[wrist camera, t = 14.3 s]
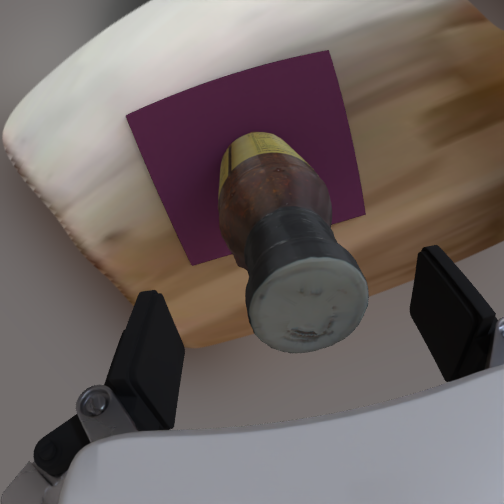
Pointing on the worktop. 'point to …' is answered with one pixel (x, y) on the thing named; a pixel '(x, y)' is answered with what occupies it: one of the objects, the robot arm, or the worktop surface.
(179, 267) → the worktop surface
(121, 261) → the worktop surface
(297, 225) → the sauce bottle
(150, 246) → the worktop surface
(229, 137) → the cloth
